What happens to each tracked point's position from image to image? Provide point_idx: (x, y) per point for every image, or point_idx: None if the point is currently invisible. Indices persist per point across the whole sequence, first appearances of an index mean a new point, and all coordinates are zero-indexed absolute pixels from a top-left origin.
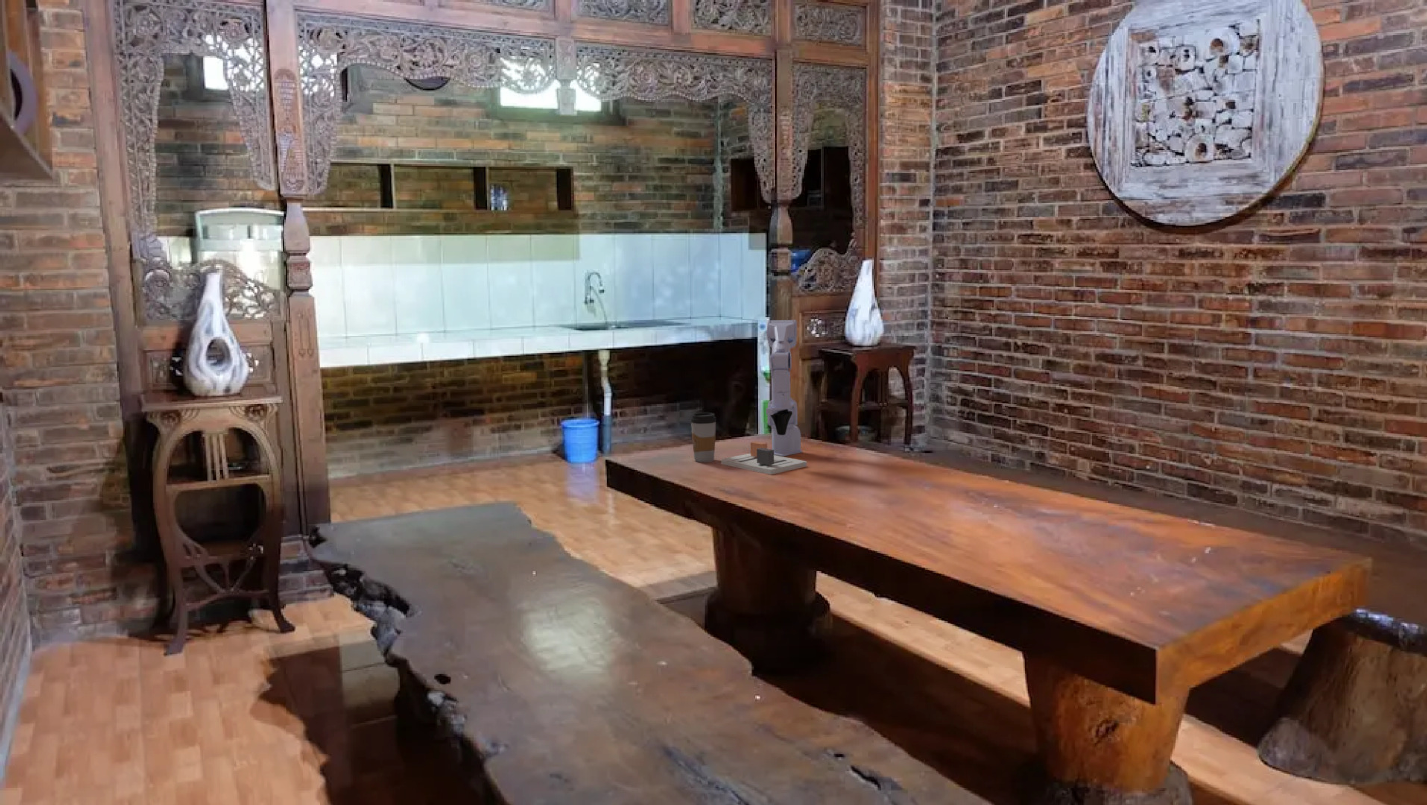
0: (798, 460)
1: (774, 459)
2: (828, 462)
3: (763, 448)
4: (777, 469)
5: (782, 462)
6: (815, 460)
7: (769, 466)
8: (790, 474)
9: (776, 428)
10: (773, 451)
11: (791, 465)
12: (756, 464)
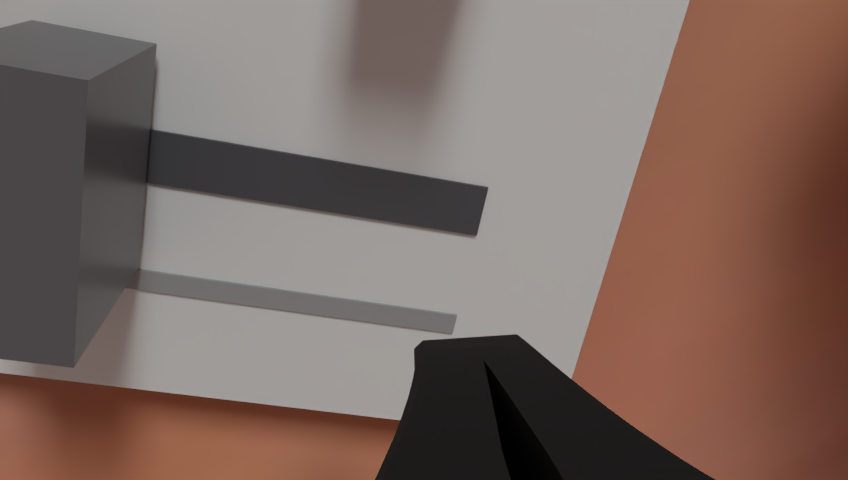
0: (555, 341)
1: (460, 53)
2: (796, 470)
3: (50, 138)
4: (47, 369)
5: (354, 250)
6: (843, 326)
7: None
8: (111, 476)
9: (403, 423)
10: (69, 354)
11: (295, 404)
12: (21, 20)
